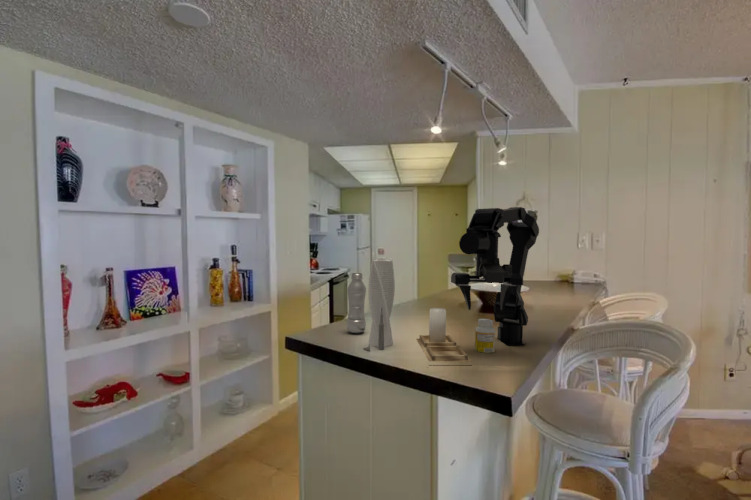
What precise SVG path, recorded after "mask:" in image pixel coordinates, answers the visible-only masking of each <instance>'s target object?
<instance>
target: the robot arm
mask: <svg viewBox="0 0 751 500" xmlns="http://www.w3.org/2000/svg"><path fill="white" fill-rule="evenodd" d="M519 221H520V222H519ZM537 222H538V221H537V220H536V219H535V217H533V216H532V215H531V214H529V213H528V212H527V210H526V208H525V207H522V206H517V207H516V206H515V207H514V206H513V207H509V208H505V209H503V208H499V207H494V208H493V207H491V208H490V207H489V208H477V209H476V210H475V211H474V213H473V215H472V216H471V219H470V223H469V225H468V226H467V228H465V229H466V233H464V234H463V235H461V237H460V238H459V239H460V240H459V241H458V245H459V248H460V250H461V252H462V253H464V254H466V255H476V256H475V259H474V260H475V264H476V265H475V266H476V267H475V271H474V275H473V274H472V275H470V273H467V272H452V273H451V275H450V282H451V283H452V284H454V285H455V286H456V287H458V288H459V289H460V291H461V294H462V296H463V298H464V301H465V304H466V307H467V310H468V311H471V310H472V309H471V307H472V299H471V289H472V285H470V284H469V283H487V284H492V283H493V284H494V283H499V284H500V291H498V292H497V293H496V296H495V301H494V304H493V315H494V316H493V317H494V322H495V323H499V326H497V337H496V339H497V340H499V341H500V342H501V343H502V344H504V345H505V346H525V342H523V331H524V329H523V328H524V326H527V325H528V322H529V316H528V314H527V311H526V309H525V302H524V299H523V297H522V294H521V291H522V286H523V285H524V276H525V270H526V265H527V260H528V255H529V250H531V248H532V247H533V246H534V245H535V244H536V241H537V239H538V236H539V235H540V228H539V224H538V223H537ZM505 223H507V225H506V230H507V232H508V234H509V236H508V237H509V240H510V242H511V245H512V249H511V254H510V259H509V264H505V263H504V264H503V265H501V264H500V258H499V238H501V237H502V235H501V233H500V232H499V231H500V230H499V229H501V228H503V226H505Z"/></svg>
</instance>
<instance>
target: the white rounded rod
mask: <svg viewBox="0 0 751 500" xmlns="http://www.w3.org/2000/svg"><path fill="white" fill-rule="evenodd" d="M428 318H429V322H428V323H429V324H428V325H429V327H428V329H429V330H428V331H429V332H428V335H429V342H445V340H446V335H447V334H446V333H447V326H446V325H447V309H446V308H442V307H431V308H430V307H429V317H428Z"/></svg>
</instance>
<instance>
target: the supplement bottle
mask: <svg viewBox="0 0 751 500" xmlns="http://www.w3.org/2000/svg"><path fill="white" fill-rule="evenodd" d="M477 325H478V326H476V328H475V330H474V331H475V335H474V339H475V341H474V350H475V351H476V352H479V353H482V354H483V353H485V354H491V353H495V350H496V349H495V348H496V329H495V328H494V327H493V326H494V320H492V319H489V318H478V319H477Z"/></svg>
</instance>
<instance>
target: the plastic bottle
mask: <svg viewBox="0 0 751 500" xmlns="http://www.w3.org/2000/svg"><path fill="white" fill-rule="evenodd" d="M350 279H351V280H350V282H349V284H348V286H347V290H346V291H347V301H348V314H347V319H346V330H347V332H349V333H352V334H361V333H364V332H365V331H366V326H367V324H366V318H365V317H366V316H365V303H366V302H365V299H366V295H367V286H366V285H365V283H364V282H363V273H361V272H352V273H351V277H350Z"/></svg>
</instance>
